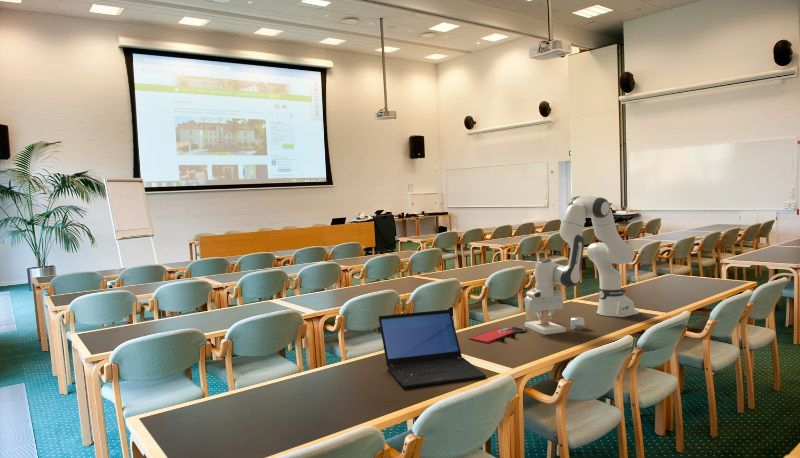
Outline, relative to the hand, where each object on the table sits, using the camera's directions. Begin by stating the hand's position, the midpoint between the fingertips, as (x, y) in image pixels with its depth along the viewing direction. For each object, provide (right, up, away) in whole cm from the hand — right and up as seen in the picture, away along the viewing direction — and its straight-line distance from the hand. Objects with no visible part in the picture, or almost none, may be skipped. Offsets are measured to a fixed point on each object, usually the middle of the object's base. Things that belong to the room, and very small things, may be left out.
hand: (544, 319), depth 273 cm
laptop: (-60, -12, -52) cm, 81 cm away
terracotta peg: (0, -3, 0) cm, 3 cm away
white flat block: (0, -5, +1) cm, 5 cm away
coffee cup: (-1, -4, +19) cm, 20 cm away
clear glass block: (+16, -5, 0) cm, 17 cm away
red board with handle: (-24, -7, -8) cm, 26 cm away
